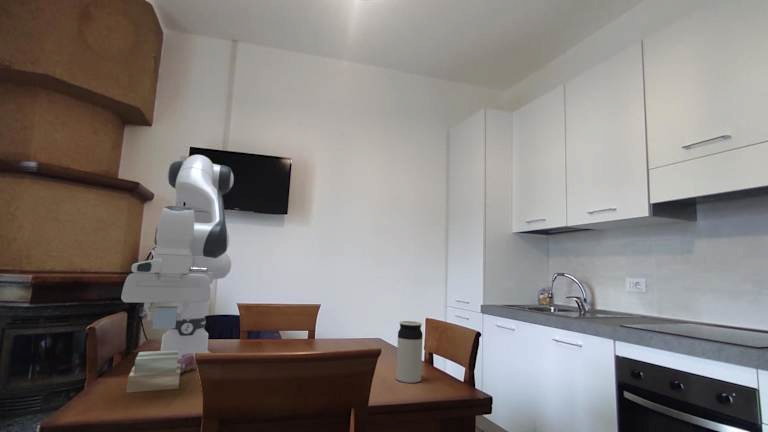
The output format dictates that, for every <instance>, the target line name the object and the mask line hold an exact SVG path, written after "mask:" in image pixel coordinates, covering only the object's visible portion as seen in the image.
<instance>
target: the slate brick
mask: <svg viewBox="0 0 768 432" xmlns="http://www.w3.org/2000/svg"><path fill="white" fill-rule="evenodd" d="M177 309H178V306H172V305H171V306H170V305H167V306H166V305H165V306H162V305H160V306H159V305H156V306H155V308H154V320H153V321H152V329H153V330H159V329H161V330H162V329H169V328H175V326H176V316H177Z"/></svg>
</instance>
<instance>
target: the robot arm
mask: <svg viewBox="0 0 768 432" xmlns="http://www.w3.org/2000/svg"><path fill="white" fill-rule="evenodd" d="M166 177H167V180H168V184H169V185H170V186H171V187H172V188H173V189H174V190H175V193H176V194H177V196H178V198H179V199H180V200H181V201H183V203H185V205H184V206H180V205H179V206H178V205H167V206H165V207H163V208H162V210H161V211H160V212H161V213H160V216H159V220H158V224H157V227H156V229H155V233H154V241H153V243H154V245H155V246H156V247H155V250H154V252H153V257H152V259H146V260H144V261H140V262H134V263H133V264H132V265H131V266H130V267H131V268H130V269H131V272H132V273H129V275H128V276H127V277H126V279H125V281H124V283H123V287H122V291H121V297H120V298H121V300H122V302H123V303H144V304H143V308H144V311H145V312H146V314H147V320H146V321H147V322H153V320H154V313H153V312H152V311H151V309H150V307H151V306H152V303H157V304H159V303H164V304H165V303H167V304H168V303H169V304H170V303H172V304H171V306H178V309H177V316H176V326H175V328H168V330H167V331H166V332H164V333H163V334H162V336H161V337H162V338H161V345H160V351H172V350H179V351H178V357H181V356H182V355H184V354H187V353H193V354H195V353H212V352H211V351H210V350H208V346H209V345H208V343H209V333H208V332H207V331H206V330H205V327H206V324H207V323H206V322H207V321H206V308H207V306H206V305H207V303H208V302H209V301H210V300H211V284H213V282H214V280H220V279H225V278H226V276H228V275H229V273H230V271H231V268H232V260H231V258H230V257H229V255H228V254H227V253H226V252H227V250H228V248H229V244H230V236H229V232H228V229H227V224H226V215H225V205H224V199H223V195H225V194H227V193H228V192H229V191H231V188H232V187H233V185H234V180H235V179H234V178H235V177H234V174H233V170H232V169H231V167H229V166H227V165H223V164H221V165H220V164H217V163H213V162H212V160H211V159H210V158H209V157H207V156H205V155H202V154H193V155H190V156H189V157H187V158H186V159H185V160H176V161H174V162H172V163H171V164H170V165H169V167H168V170H167V176H166Z"/></svg>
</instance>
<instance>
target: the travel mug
mask: <svg viewBox="0 0 768 432" xmlns="http://www.w3.org/2000/svg"><path fill="white" fill-rule="evenodd" d="M398 323H399V329H398V332H397V350H396V351H397V352H396V372H395V373H396V375H395V377H396V380H398V381H399V382H402V383H406V384H415V383H416V382H417V383H419V382H420V381H422V360H423V359H422V357H423V332H422V329H421V328H422V325H423V323H422V322H420V321H412V320H402V321H401V320H400V321H399V322H398Z"/></svg>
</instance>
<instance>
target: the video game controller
mask: <svg viewBox="0 0 768 432" xmlns="http://www.w3.org/2000/svg"><path fill="white" fill-rule="evenodd" d="M193 355H194V354H193V353H187V354H184V355H182V356H181V357H178V361H177V363H181V367H180V375H181V374H182V373H183V372H186V371H187V372H189V371H190V370H191V369H192V367H193V366H195V365H196V364H195V360H194V356H193Z"/></svg>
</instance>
